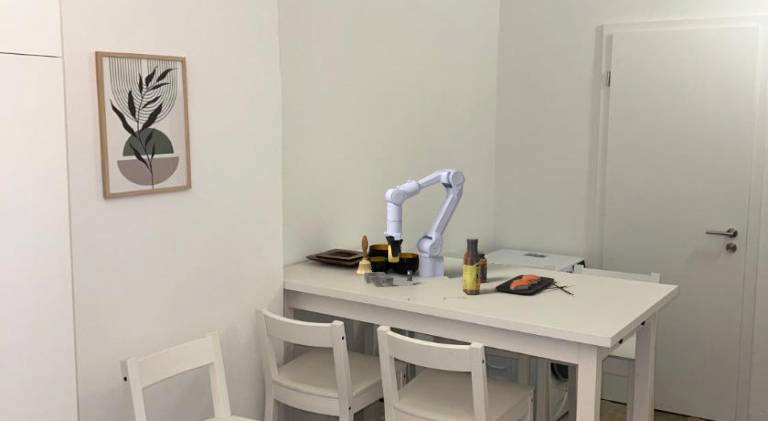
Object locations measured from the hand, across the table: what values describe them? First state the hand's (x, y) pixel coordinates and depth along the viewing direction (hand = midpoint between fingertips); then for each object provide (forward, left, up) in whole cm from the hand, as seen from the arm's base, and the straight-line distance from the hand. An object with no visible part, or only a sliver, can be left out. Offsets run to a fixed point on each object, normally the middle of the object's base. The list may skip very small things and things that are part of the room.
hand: (393, 255), depth 287 cm
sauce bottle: (-25, +22, -10) cm, 34 cm away
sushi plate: (-54, +19, -11) cm, 58 cm away
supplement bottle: (-33, +4, -10) cm, 34 cm away
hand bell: (+9, -12, -10) cm, 19 cm away
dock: (+3, +5, -10) cm, 12 cm away
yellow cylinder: (0, 0, -2) cm, 2 cm away
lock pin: (-1, +11, -9) cm, 14 cm away
